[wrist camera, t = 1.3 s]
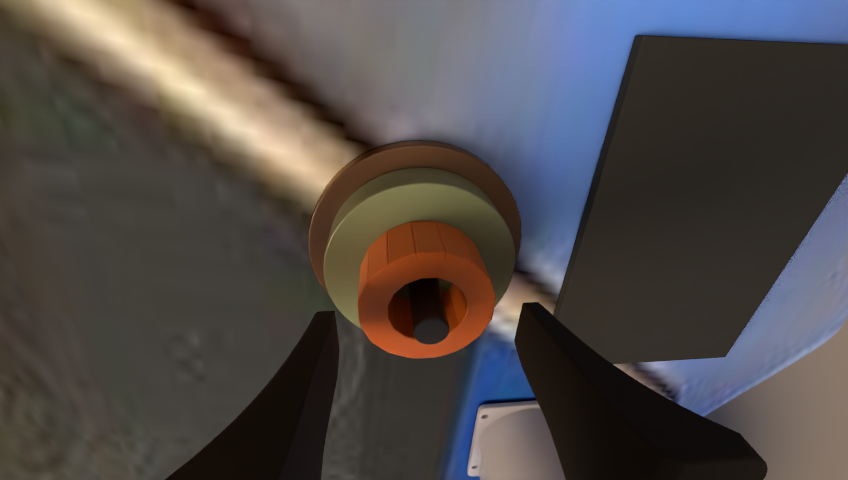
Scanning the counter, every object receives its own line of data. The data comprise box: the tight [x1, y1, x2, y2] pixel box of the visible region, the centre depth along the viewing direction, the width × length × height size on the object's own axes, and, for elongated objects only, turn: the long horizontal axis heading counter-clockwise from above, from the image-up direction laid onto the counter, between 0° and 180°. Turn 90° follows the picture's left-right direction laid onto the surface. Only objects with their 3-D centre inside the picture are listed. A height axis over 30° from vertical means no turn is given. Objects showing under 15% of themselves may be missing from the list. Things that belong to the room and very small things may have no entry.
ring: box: [358, 221, 496, 359], centre depth 16 cm, size 6×6×3 cm
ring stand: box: [308, 141, 521, 345], centre depth 16 cm, size 11×11×7 cm
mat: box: [554, 35, 848, 364], centre depth 21 cm, size 20×14×1 cm
